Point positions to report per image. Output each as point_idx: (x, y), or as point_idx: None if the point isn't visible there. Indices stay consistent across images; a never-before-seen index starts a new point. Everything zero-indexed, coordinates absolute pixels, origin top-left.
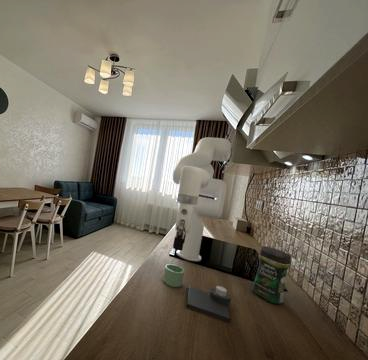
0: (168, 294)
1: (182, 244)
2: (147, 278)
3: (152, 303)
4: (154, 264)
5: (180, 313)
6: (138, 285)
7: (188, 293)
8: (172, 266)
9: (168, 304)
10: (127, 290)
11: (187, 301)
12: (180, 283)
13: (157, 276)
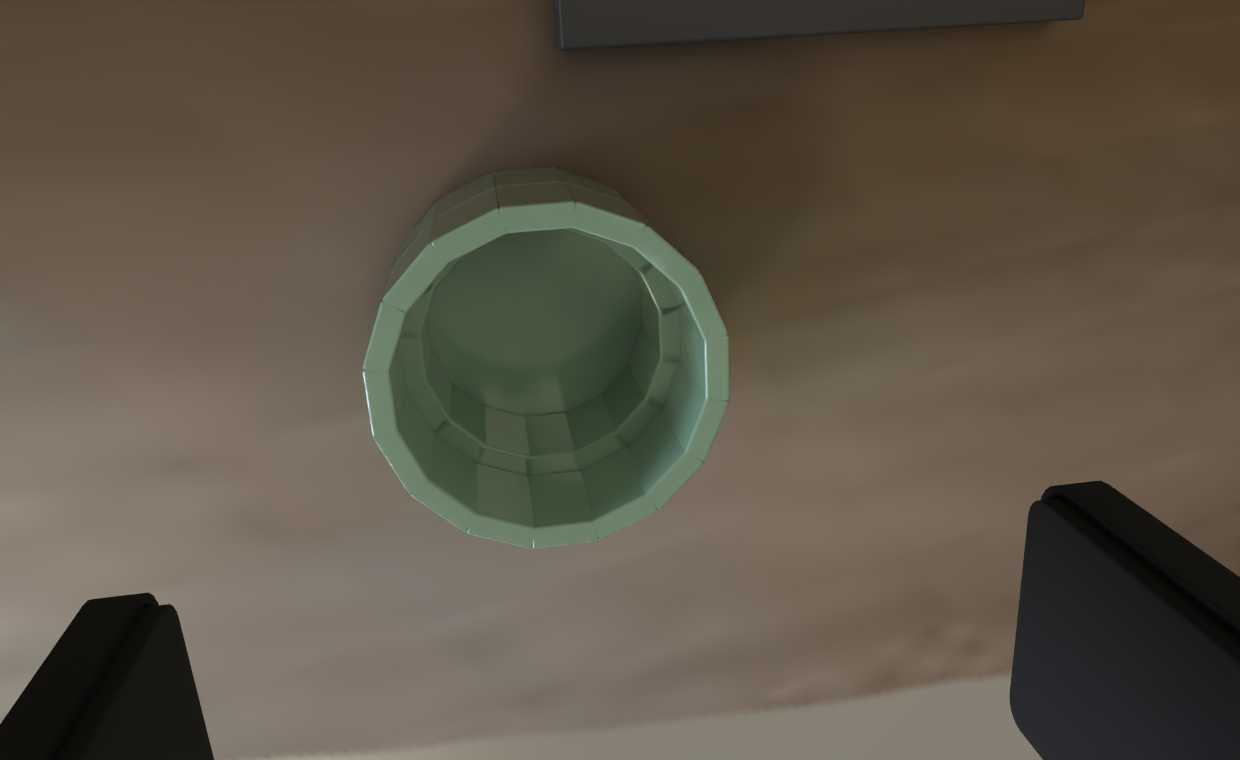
0: (884, 280)
1: (1229, 596)
2: (661, 602)
3: (1159, 381)
4: None
5: (1201, 72)
6: (897, 615)
7: (808, 34)
8: (412, 441)
9: (1096, 230)
10: None
11: (1027, 22)
12: (618, 194)
13: None
